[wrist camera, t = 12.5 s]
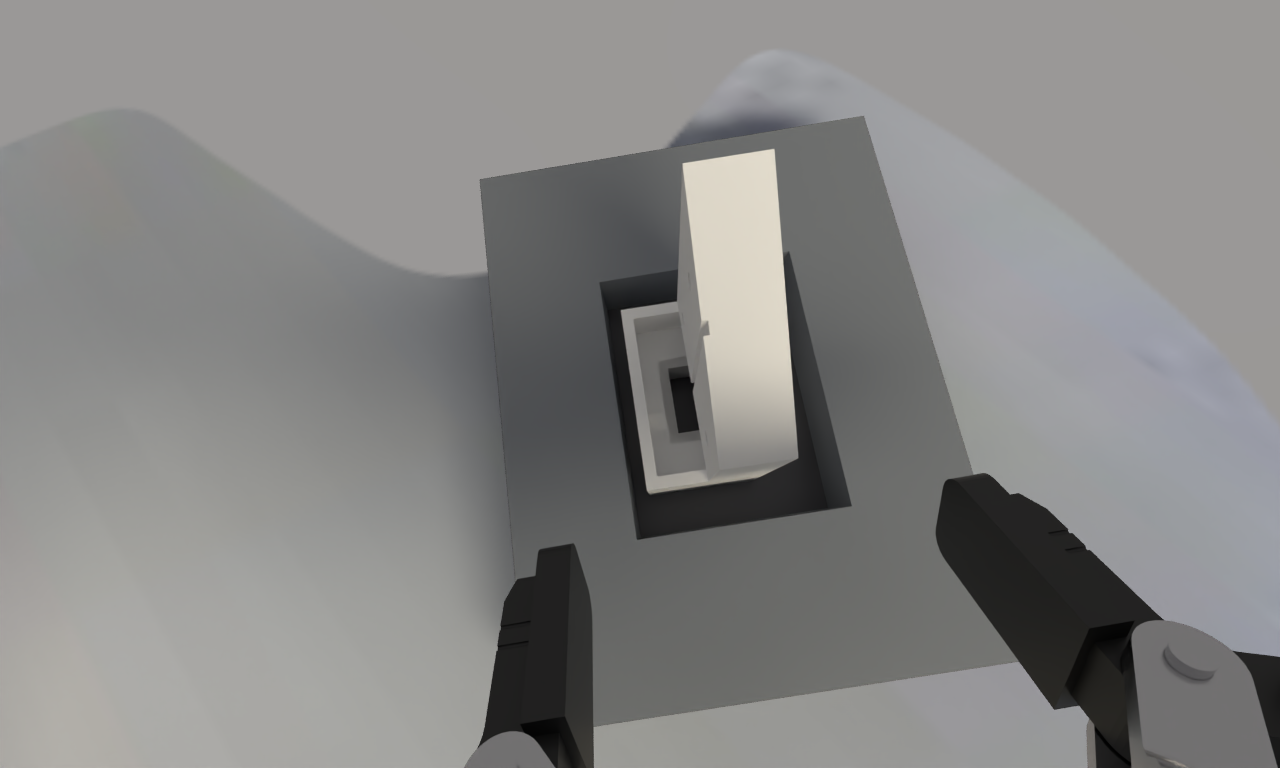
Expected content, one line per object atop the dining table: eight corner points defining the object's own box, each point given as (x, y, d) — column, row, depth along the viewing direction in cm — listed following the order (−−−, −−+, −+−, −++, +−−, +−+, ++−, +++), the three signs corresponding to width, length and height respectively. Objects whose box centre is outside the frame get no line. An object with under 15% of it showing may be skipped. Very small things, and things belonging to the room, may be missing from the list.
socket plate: (551, 701, 18) (528, 736, 15) (503, 223, 23) (479, 179, 20) (971, 637, 18) (1029, 659, 15) (838, 168, 22) (863, 115, 19)
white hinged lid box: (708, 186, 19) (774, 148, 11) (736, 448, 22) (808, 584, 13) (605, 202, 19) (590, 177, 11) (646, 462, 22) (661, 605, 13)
